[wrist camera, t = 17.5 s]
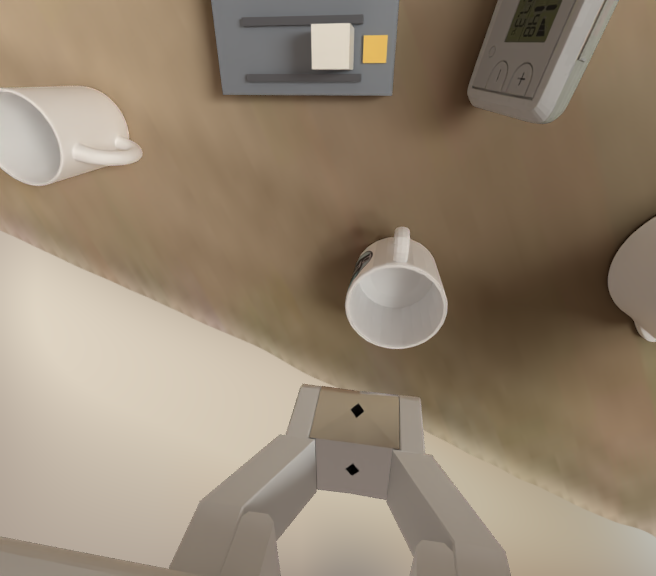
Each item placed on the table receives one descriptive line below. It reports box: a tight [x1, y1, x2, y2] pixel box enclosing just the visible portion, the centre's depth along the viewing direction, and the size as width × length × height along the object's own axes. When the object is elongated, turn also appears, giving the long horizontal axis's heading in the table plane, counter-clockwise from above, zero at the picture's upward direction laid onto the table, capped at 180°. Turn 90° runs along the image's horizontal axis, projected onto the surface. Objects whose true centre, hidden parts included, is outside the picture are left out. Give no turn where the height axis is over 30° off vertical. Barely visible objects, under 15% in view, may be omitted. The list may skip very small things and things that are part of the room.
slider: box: [311, 23, 354, 70], centre depth 30 cm, size 3×3×4 cm
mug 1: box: [0, 86, 143, 186], centre depth 38 cm, size 12×8×10 cm
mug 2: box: [345, 226, 448, 349], centre depth 41 cm, size 13×10×8 cm
